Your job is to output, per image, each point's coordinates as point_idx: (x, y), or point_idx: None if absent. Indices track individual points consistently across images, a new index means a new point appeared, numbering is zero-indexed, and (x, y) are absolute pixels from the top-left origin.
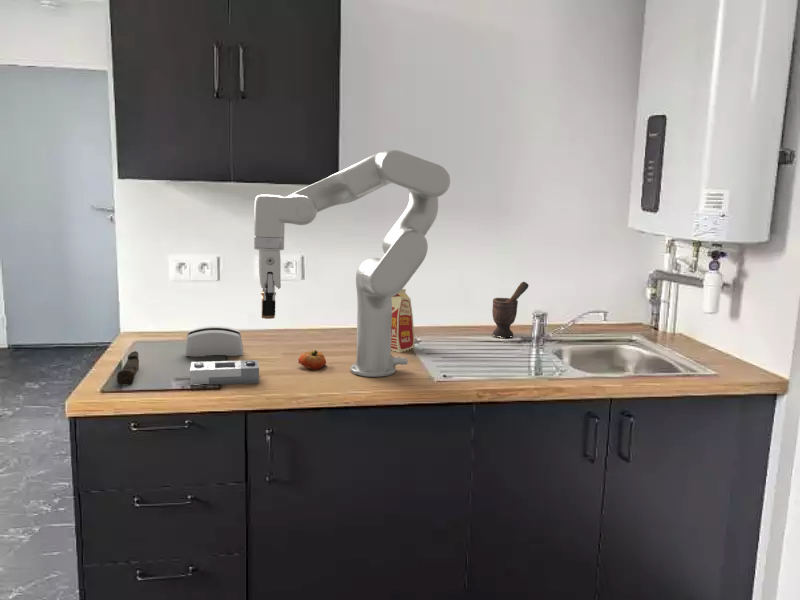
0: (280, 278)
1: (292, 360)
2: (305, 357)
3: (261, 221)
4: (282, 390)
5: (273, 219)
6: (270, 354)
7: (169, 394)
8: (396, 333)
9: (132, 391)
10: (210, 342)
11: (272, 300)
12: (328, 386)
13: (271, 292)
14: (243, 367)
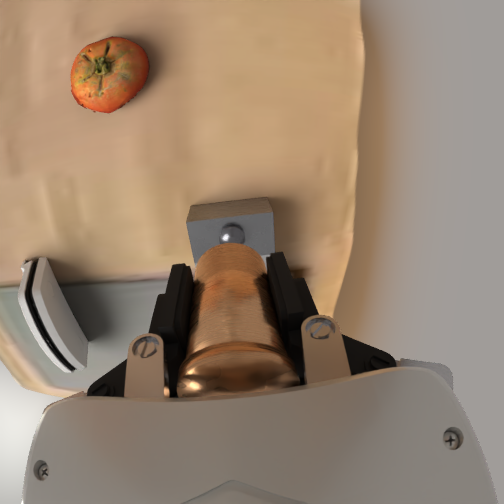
0: (466, 449)
1: (58, 138)
2: (122, 88)
3: None
4: (331, 142)
5: None
6: (25, 201)
7: None
8: None
9: None
10: (67, 330)
11: (310, 327)
12: (309, 33)
13: (440, 369)
14: (263, 249)
